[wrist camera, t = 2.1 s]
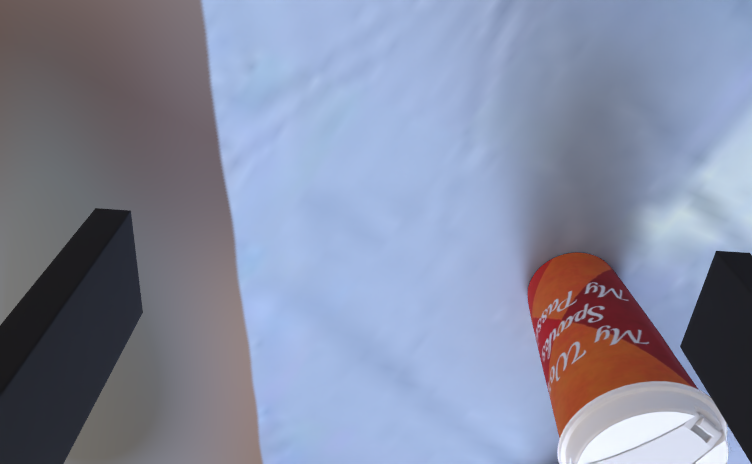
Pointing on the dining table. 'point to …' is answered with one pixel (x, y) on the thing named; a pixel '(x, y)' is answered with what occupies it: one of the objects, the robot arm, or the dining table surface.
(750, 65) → the dining table surface
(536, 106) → the dining table surface
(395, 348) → the dining table surface
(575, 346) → the coffee cup
